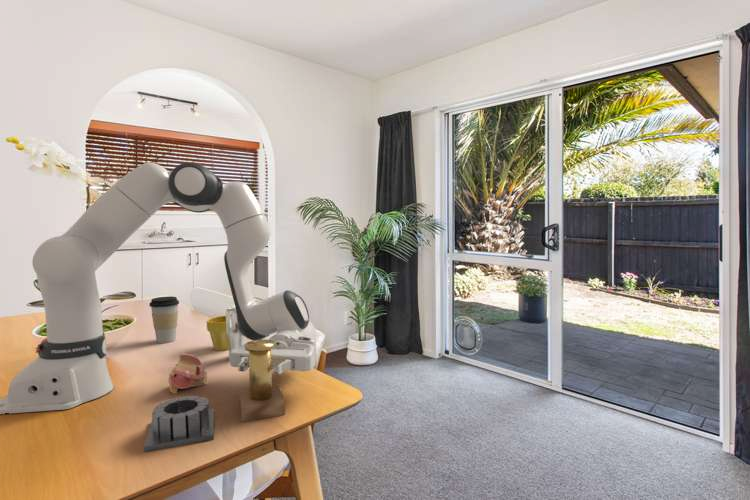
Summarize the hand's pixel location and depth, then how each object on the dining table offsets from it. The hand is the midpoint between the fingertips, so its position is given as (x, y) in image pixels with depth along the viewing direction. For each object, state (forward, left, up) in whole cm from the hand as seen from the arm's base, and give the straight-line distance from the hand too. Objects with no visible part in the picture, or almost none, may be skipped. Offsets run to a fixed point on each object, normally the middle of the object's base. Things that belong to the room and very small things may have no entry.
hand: (258, 369), depth 93 cm
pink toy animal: (-15, +20, -10) cm, 27 cm away
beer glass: (-3, +40, -10) cm, 41 cm away
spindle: (0, +1, -7) cm, 7 cm away
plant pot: (-7, +52, -10) cm, 53 cm away
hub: (-16, -3, -10) cm, 18 cm away
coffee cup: (-26, +68, -10) cm, 73 cm away
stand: (0, +1, -10) cm, 10 cm away
